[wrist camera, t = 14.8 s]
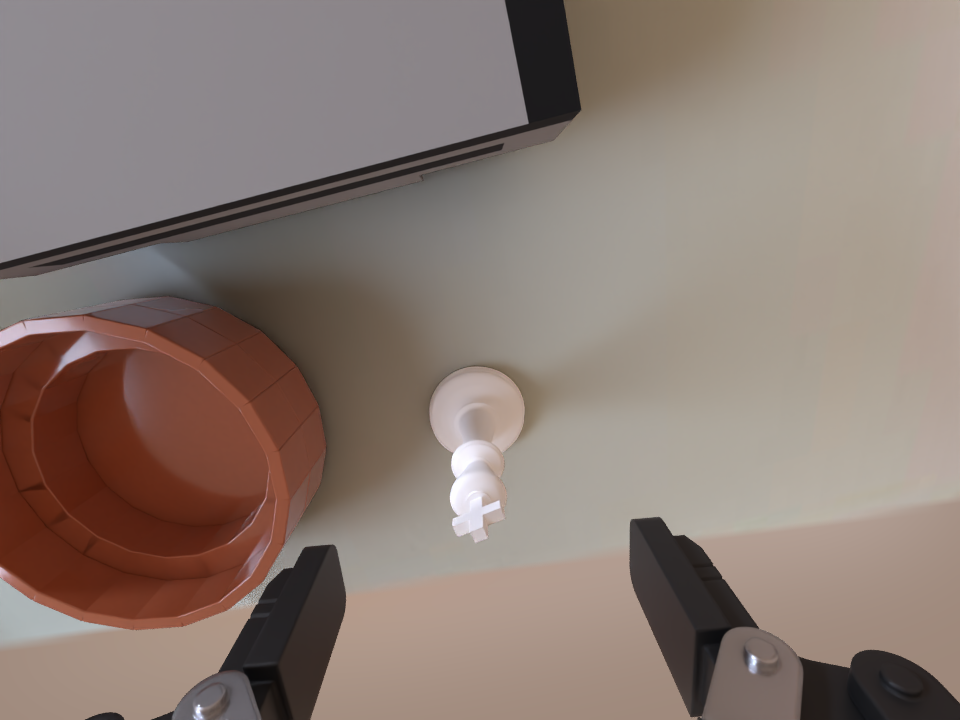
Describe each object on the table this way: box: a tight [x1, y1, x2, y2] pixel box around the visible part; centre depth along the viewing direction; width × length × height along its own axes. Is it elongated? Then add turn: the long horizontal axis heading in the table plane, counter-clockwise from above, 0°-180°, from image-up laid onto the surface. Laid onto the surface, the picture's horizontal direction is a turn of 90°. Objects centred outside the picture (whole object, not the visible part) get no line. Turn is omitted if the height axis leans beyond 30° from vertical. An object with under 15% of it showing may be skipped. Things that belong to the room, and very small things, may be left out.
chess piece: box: [429, 366, 525, 543], centre depth 19 cm, size 5×5×10 cm
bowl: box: [0, 296, 326, 630], centre depth 21 cm, size 14×14×6 cm
